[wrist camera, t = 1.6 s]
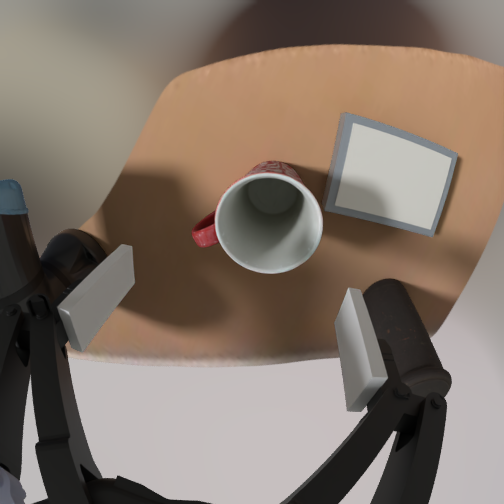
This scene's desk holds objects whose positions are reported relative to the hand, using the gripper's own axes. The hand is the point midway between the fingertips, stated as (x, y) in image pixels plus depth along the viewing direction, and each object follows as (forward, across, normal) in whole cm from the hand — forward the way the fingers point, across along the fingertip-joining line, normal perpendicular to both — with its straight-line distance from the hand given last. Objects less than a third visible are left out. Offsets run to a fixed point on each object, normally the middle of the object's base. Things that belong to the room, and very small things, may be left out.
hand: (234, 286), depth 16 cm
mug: (+22, 0, 0) cm, 22 cm away
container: (+22, +22, -13) cm, 33 cm away
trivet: (+22, +16, +6) cm, 27 cm away
